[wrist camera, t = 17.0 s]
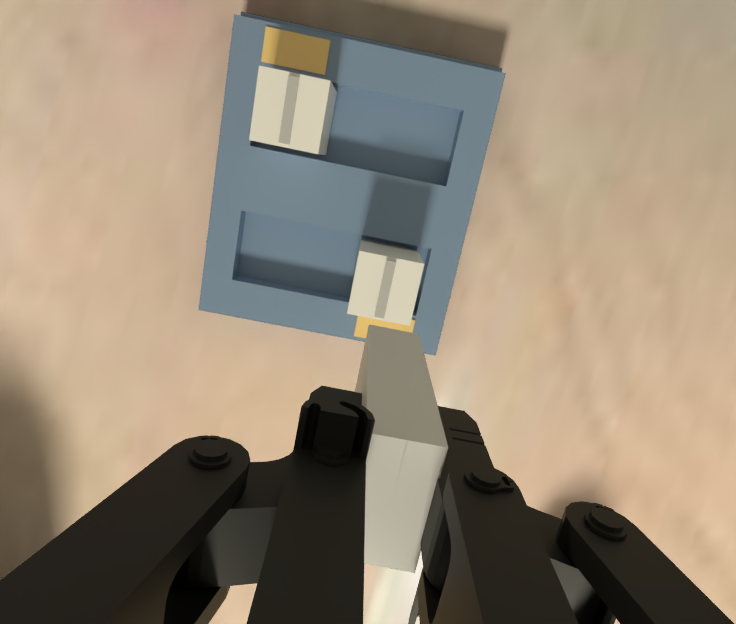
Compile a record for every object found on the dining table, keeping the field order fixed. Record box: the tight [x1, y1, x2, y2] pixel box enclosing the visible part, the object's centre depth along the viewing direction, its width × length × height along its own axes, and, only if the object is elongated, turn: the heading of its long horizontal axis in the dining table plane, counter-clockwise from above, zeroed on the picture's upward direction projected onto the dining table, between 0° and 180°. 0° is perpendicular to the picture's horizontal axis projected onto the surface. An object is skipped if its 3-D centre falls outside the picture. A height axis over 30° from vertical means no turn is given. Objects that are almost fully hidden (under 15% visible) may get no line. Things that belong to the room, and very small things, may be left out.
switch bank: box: [199, 12, 506, 355], centre depth 37 cm, size 17×20×3 cm
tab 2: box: [347, 238, 424, 326], centre depth 36 cm, size 4×4×6 cm
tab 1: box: [249, 65, 337, 155], centre depth 33 cm, size 4×4×6 cm
